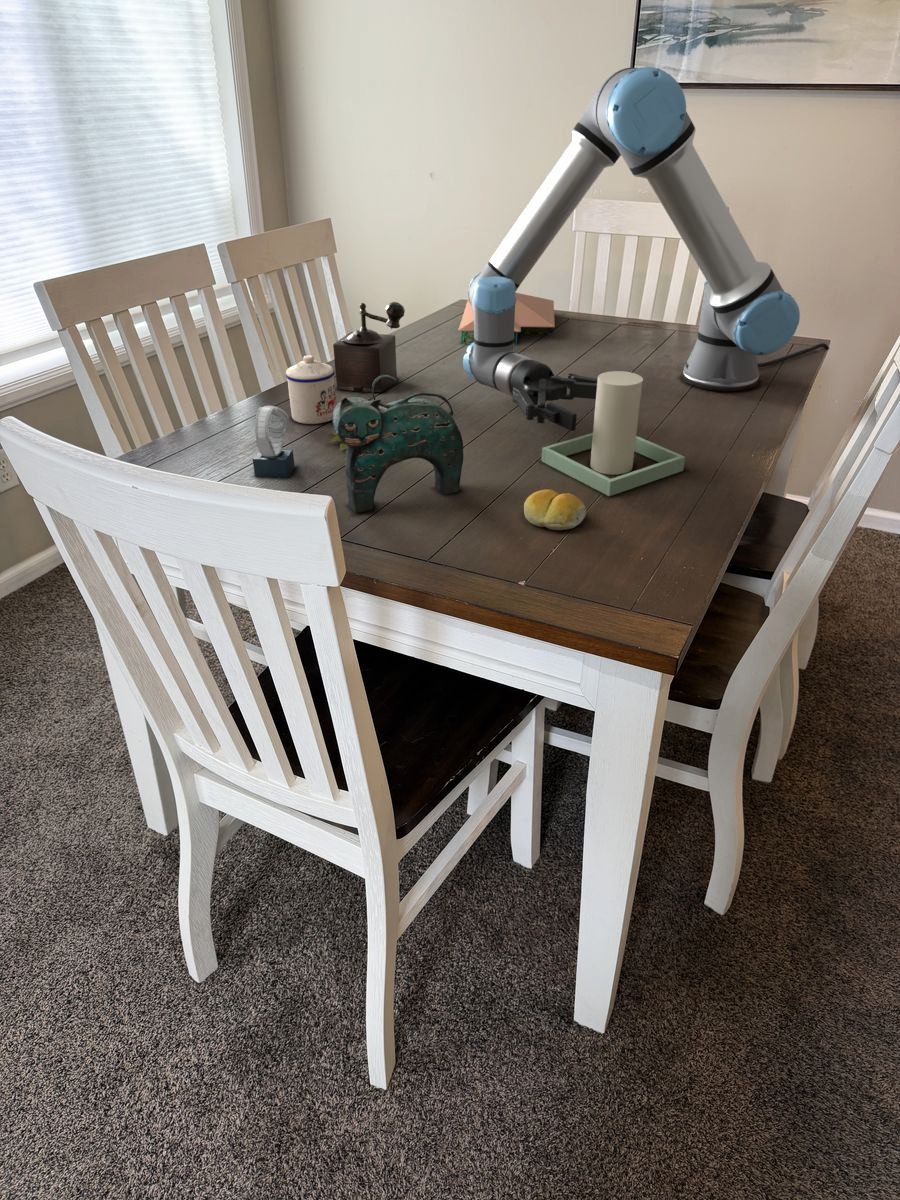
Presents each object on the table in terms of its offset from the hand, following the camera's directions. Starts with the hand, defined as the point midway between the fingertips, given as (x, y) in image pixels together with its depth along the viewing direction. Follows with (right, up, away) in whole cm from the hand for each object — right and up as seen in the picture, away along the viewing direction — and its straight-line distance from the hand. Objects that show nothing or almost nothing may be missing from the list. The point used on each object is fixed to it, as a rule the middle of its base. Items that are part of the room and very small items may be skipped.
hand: (605, 413), depth 135 cm
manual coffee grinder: (-41, +15, +39) cm, 58 cm away
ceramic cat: (-33, -15, -6) cm, 37 cm away
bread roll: (-10, -19, -12) cm, 24 cm away
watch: (-55, -9, +3) cm, 56 cm away
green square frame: (+1, -8, +3) cm, 9 cm away
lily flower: (-42, -2, +13) cm, 44 cm away
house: (-11, +39, +76) cm, 87 cm away
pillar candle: (+1, -8, +3) cm, 9 cm away
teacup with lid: (-51, +5, +25) cm, 57 cm away
